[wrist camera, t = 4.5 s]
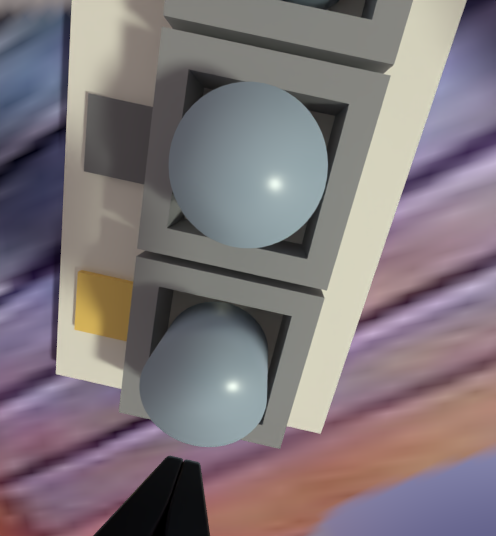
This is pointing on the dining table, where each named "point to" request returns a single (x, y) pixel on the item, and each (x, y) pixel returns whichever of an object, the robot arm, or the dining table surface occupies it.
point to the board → (185, 233)
